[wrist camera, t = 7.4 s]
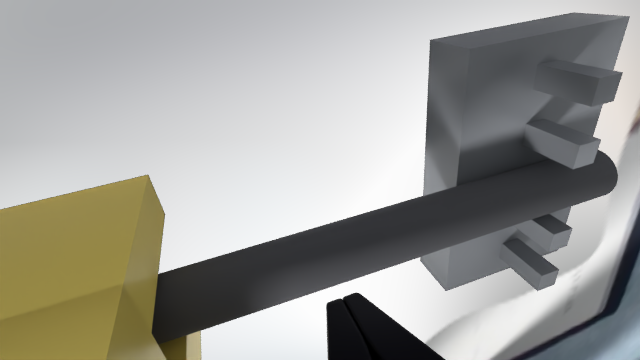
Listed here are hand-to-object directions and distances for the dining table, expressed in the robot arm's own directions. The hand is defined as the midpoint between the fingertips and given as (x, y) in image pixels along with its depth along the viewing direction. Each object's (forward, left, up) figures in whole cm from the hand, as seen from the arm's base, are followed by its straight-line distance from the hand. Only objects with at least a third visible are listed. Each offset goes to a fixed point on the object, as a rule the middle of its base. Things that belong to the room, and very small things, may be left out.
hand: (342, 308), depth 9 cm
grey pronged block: (0, -8, -5) cm, 10 cm away
